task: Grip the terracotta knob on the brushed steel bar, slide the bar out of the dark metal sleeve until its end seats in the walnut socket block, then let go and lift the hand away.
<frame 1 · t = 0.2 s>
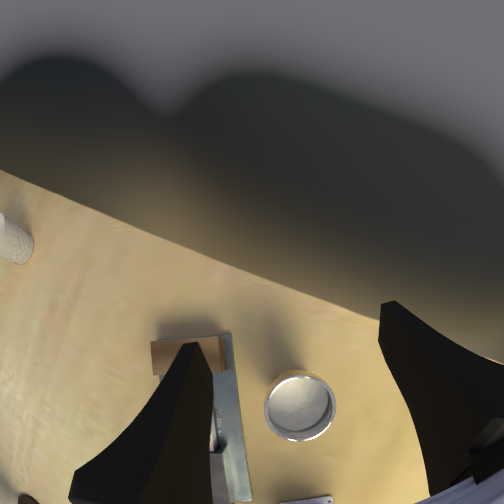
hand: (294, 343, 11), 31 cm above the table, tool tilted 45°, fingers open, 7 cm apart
white cup: (24, 249, 50), on the table
outer sleeve: (210, 470, 35), on the table
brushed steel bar: (196, 454, 32), point 5 cm above the table, slide at 0.0 cm
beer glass: (292, 390, 39), on the table
socket block: (195, 356, 41), resting on outer sleeve
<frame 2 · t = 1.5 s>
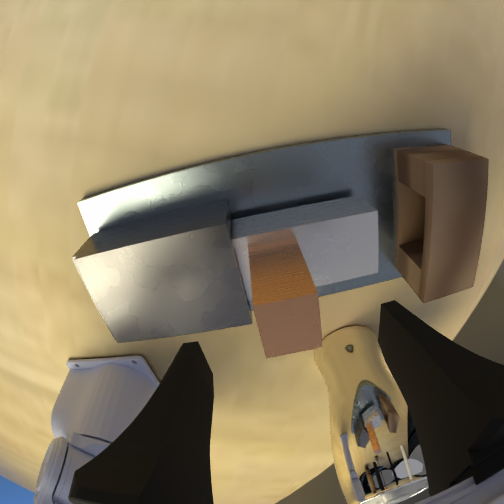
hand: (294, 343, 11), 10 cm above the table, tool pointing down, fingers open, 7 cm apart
outer sleeve: (175, 252, 21), on the table
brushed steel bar: (240, 284, 16), point 5 cm above the table, slide at 0.0 cm
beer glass: (345, 348, 26), on the table
socket block: (417, 204, 20), resting on outer sleeve
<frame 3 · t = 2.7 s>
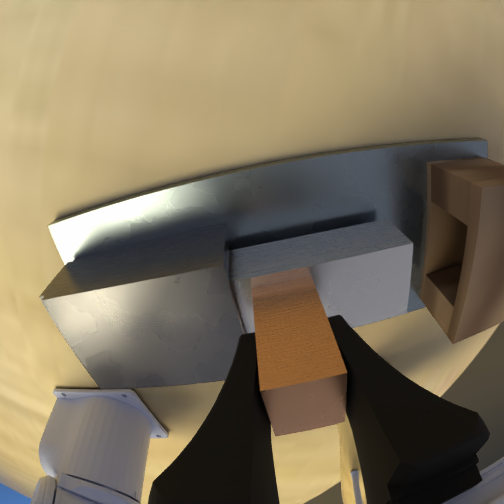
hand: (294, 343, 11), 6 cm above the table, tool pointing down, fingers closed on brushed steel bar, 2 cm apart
outer sleeve: (164, 283, 17), on the table
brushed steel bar: (242, 337, 12), point 5 cm above the table, slide at 0.0 cm, touching gripper
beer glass: (357, 380, 23), on the table
socket block: (446, 225, 16), resting on outer sleeve
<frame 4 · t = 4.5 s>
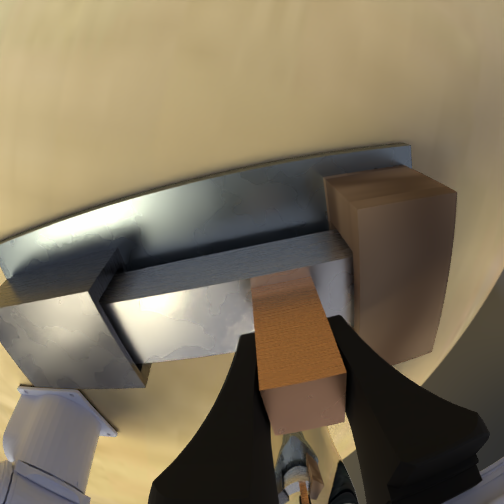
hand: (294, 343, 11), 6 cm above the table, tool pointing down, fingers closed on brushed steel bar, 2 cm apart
outer sleeve: (84, 298, 18), on the table
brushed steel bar: (241, 337, 12), point 6 cm above the table, slide at 6.0 cm, touching gripper
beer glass: (287, 396, 23), on the table
socket block: (364, 243, 17), resting on outer sleeve
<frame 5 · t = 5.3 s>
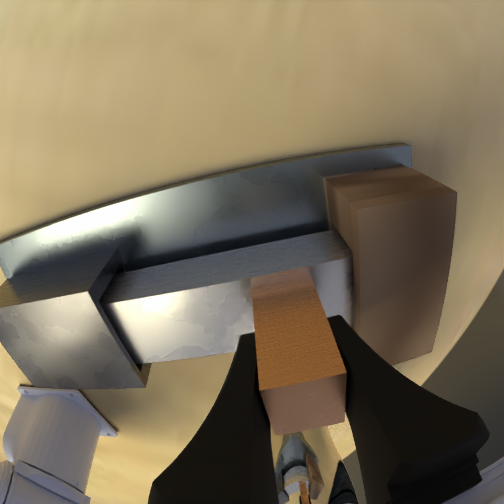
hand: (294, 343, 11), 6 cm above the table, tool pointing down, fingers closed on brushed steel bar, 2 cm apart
outer sleeve: (84, 298, 18), on the table
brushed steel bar: (241, 337, 12), point 5 cm above the table, slide at 6.0 cm, touching gripper
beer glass: (287, 396, 23), on the table
socket block: (364, 243, 17), resting on outer sleeve
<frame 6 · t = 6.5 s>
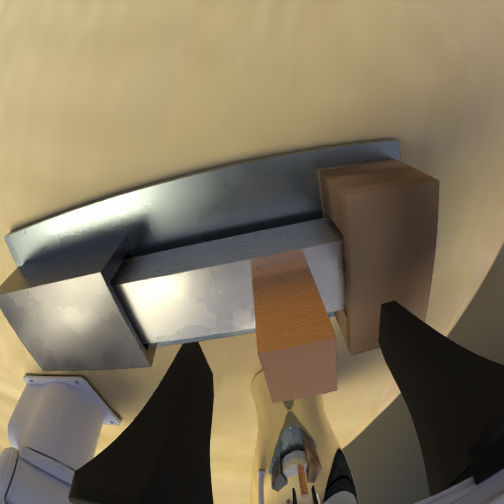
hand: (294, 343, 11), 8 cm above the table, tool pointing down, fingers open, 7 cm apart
outer sleeve: (92, 285, 19), on the table
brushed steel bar: (242, 313, 14), point 6 cm above the table, slide at 6.0 cm
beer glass: (286, 382, 25), on the table
socket block: (357, 232, 18), resting on outer sleeve
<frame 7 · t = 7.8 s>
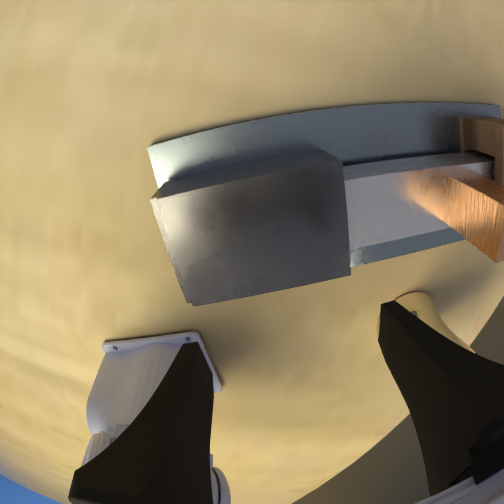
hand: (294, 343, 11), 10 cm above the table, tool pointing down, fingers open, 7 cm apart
outer sleeve: (255, 206, 20), on the table
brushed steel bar: (446, 207, 14), point 5 cm above the table, slide at 6.0 cm
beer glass: (405, 317, 25), on the table
socket block: (474, 171, 19), resting on outer sleeve
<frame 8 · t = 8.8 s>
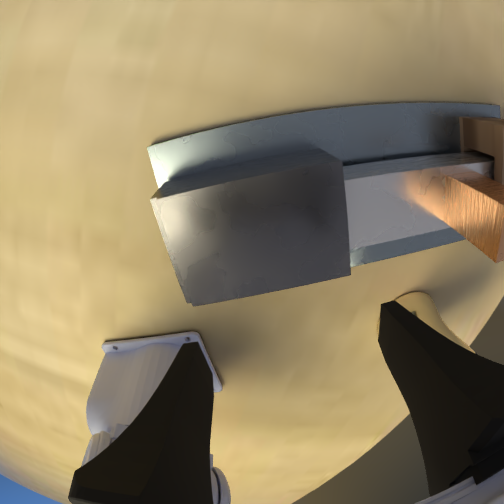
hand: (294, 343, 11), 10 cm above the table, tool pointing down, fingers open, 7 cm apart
outer sleeve: (255, 206, 20), on the table
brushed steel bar: (446, 207, 14), point 5 cm above the table, slide at 6.0 cm
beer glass: (405, 317, 25), on the table
socket block: (474, 171, 19), resting on outer sleeve
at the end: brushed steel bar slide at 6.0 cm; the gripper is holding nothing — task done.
